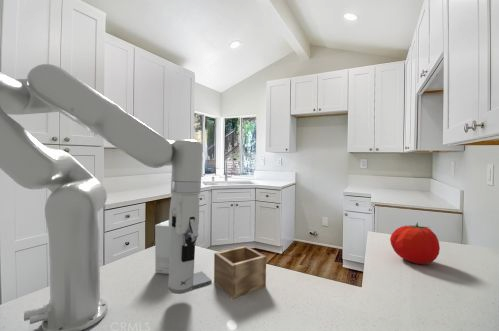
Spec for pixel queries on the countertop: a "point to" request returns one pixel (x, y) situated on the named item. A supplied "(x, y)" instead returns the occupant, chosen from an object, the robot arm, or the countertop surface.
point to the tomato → (415, 244)
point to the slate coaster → (200, 279)
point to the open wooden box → (239, 271)
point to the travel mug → (179, 264)
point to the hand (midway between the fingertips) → (182, 255)
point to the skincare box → (162, 247)
